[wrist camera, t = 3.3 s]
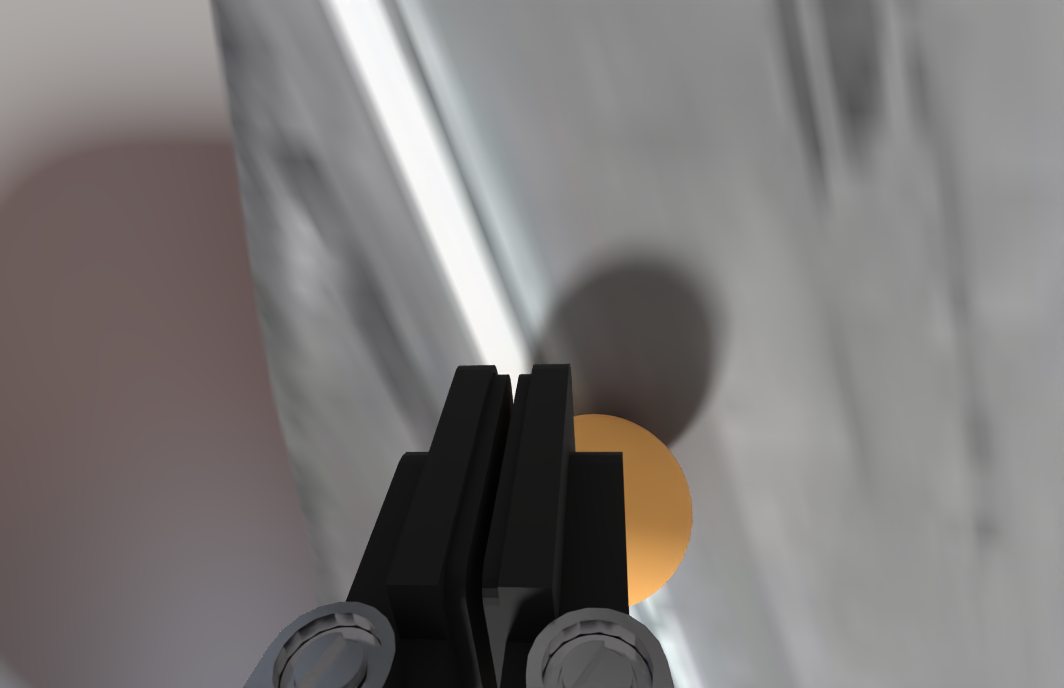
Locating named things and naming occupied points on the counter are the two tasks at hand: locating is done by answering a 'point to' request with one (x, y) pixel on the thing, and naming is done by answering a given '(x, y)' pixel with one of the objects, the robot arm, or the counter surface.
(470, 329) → the counter surface
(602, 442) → the ball
